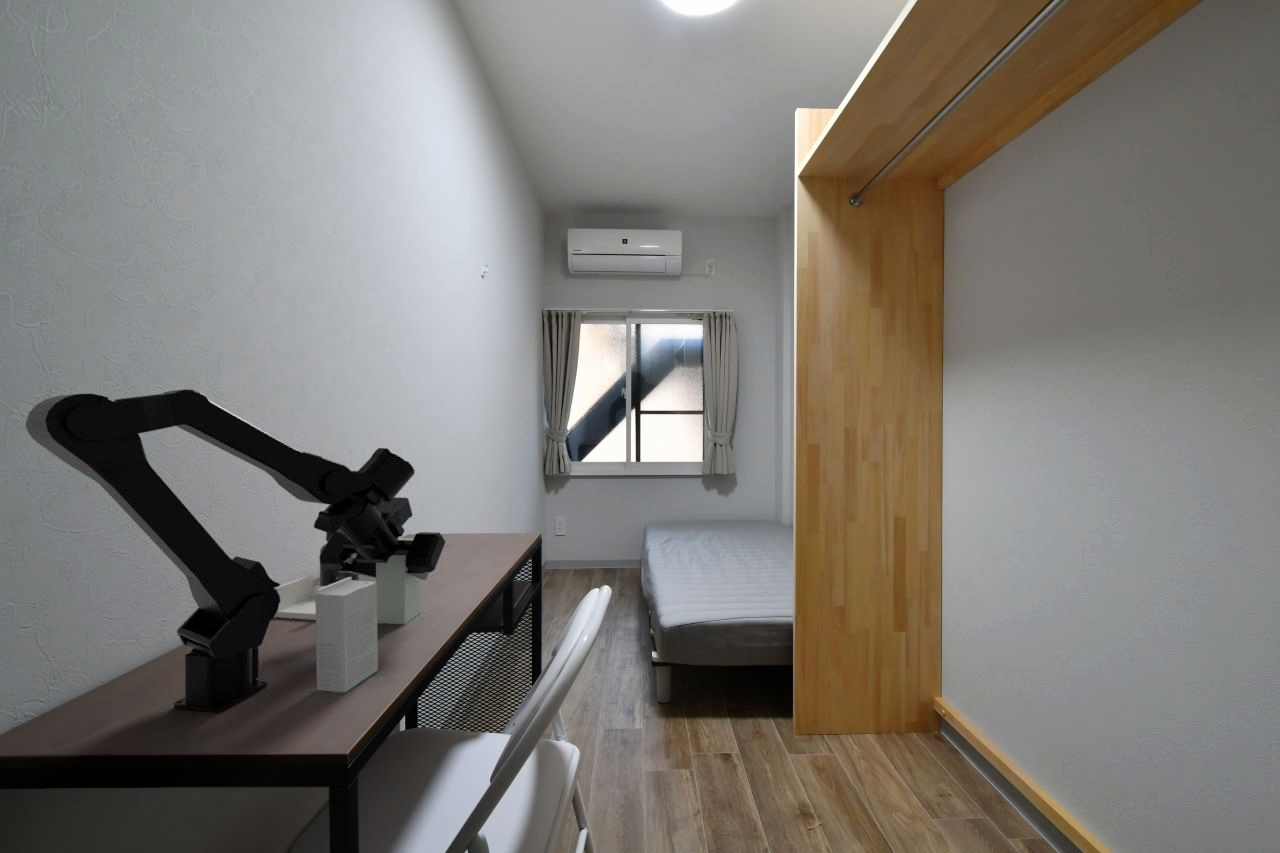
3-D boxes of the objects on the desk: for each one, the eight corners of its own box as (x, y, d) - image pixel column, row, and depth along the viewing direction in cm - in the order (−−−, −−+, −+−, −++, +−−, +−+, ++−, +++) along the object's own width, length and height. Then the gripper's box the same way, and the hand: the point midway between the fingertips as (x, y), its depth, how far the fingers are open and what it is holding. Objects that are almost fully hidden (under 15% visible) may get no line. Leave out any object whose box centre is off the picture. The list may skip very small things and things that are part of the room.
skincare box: (350, 668, 70) (350, 579, 70) (378, 671, 69) (378, 581, 69) (313, 690, 64) (313, 593, 64) (343, 694, 63) (343, 595, 63)
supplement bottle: (346, 596, 100) (346, 533, 100) (311, 595, 100) (311, 533, 100) (366, 585, 107) (366, 526, 107) (333, 585, 107) (333, 526, 107)
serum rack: (361, 622, 86) (361, 592, 86) (274, 617, 89) (274, 587, 89) (392, 606, 94) (392, 578, 94) (310, 601, 97) (310, 574, 97)
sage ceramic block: (404, 624, 86) (404, 545, 86) (376, 623, 86) (376, 544, 86) (420, 613, 91) (420, 538, 91) (393, 612, 91) (393, 538, 91)
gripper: (439, 483, 84) (469, 537, 95) (331, 482, 86) (373, 535, 97) (413, 543, 76) (449, 595, 87) (294, 540, 78) (344, 591, 89)
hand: (403, 576), depth 90 cm, fingers open, 8 cm apart
